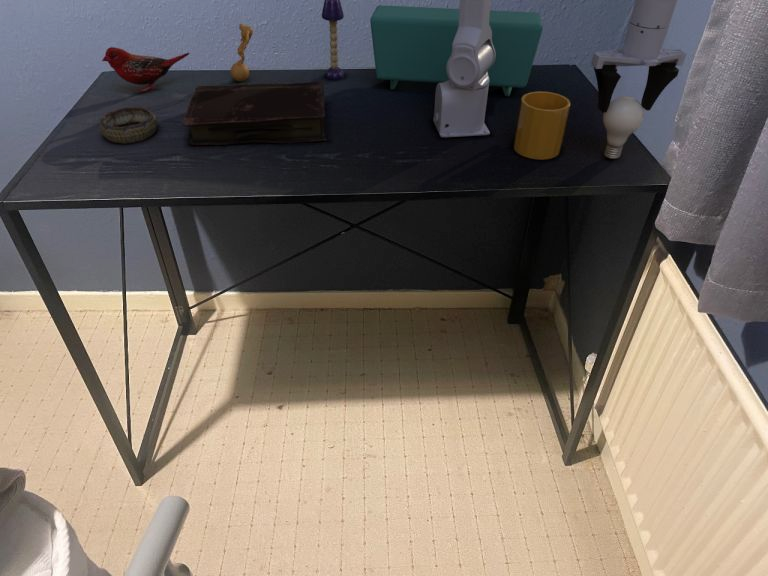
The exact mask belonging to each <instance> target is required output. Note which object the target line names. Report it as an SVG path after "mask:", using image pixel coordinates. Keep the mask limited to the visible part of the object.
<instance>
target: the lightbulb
mask: <svg viewBox="0 0 768 576" xmlns="http://www.w3.org/2000/svg"><path fill="white" fill-rule="evenodd" d="M644 115H645V111H644V108H643V107H642V105H641V102H640V101H639V100H638V99H636V98H634V97H632V96H627V95H626V96H619V97H616V98H614V99H613V100H611V101H610V105H609V108H608V110H607V112H605V113H603V114H602V122H603V126H604V128H605V131H606V141H607V142H606V145H605V149H604V150H605V151H604V154H603V155H604V156H605V157H606V158H608V160H616V159H619V158H620V157H621V155H622V150H623V147H624V145H625V143H626V142H627V141H628V139H629V137H630V136H631V135H632V134H633V133H634V132H636V131H637V130H638V129H639V127H640V126H641V125H642V123H643V121H644V117H645V116H644Z"/></svg>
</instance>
